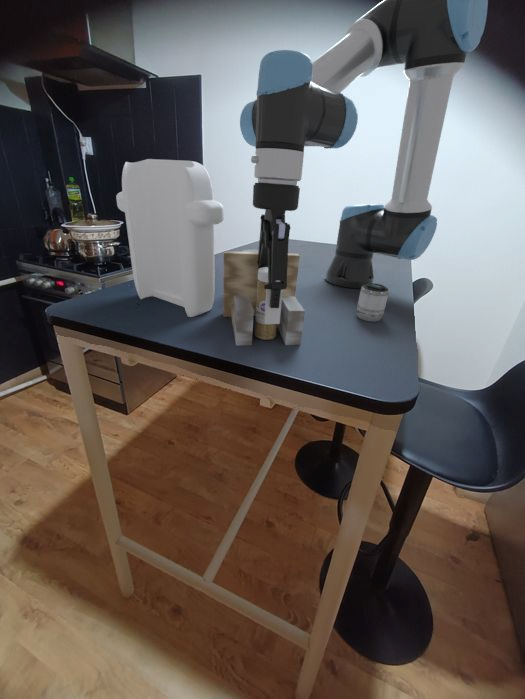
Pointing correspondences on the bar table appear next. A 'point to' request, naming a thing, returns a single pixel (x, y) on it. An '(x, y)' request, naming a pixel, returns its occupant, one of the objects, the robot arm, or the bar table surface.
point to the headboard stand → (243, 297)
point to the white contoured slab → (171, 231)
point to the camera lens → (372, 302)
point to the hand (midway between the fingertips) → (267, 312)
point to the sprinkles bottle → (263, 309)
